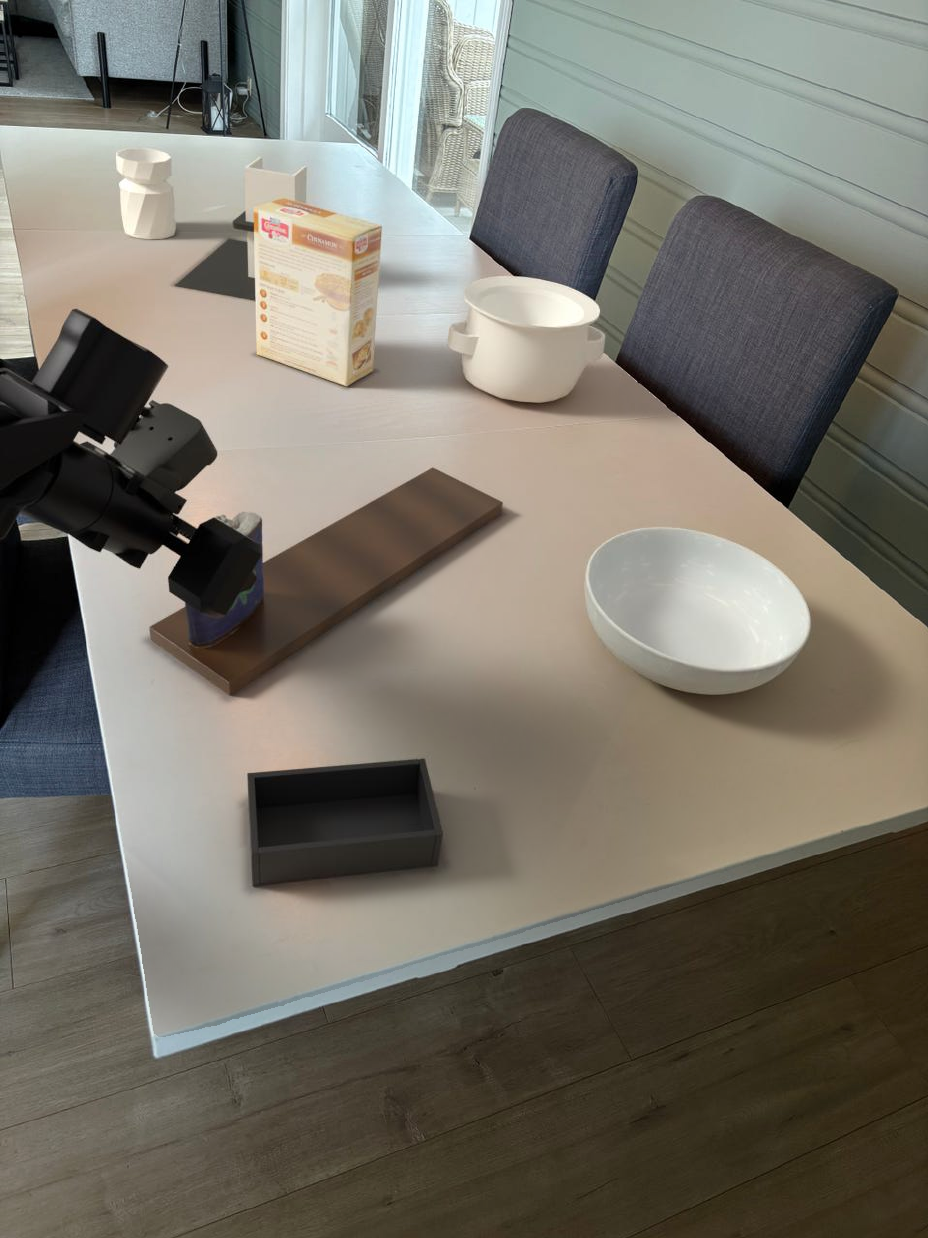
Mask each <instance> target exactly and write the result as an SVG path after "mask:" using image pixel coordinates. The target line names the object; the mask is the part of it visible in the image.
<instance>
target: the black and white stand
mask: <svg viewBox="0 0 928 1238" xmlns="http://www.w3.org/2000/svg"><path fill="white" fill-rule="evenodd" d="M243 168H244V172H243V174H244V204H245V205H244V206H245V210H244V211H243V212H242V213H241V214H239V215H238V216H236V218H234V219H233V220H232V228H233V229H234V230H239V231H245V232H246V234H247V235H246V237H247V238H246V239H247V241H244V240H239V239H233V238H228V239H226V241H225V242H223V243H221V245H220V246H218V247H217V248H216V249H215V250H214V251H212V252H211V254H209V255H208V256H207V257H206V258H205V259H203V260H202V261H201V262H200V263H199V264H198V265H196V266H195V267H194V268H193V269H192V270H190V272H188V273H186V275H185V276H184V277H182V279H180V280H179V281H178V282H177V283H175V285H174V287H179V288H186V289H190V290H191V289H192V290H197V291H201V292H202V291H203V292H207V293H208V292H209V293H213V294H220V295H224V296H230V297H236V298H241V299H247V300H251V301H256V296H255V250H254V207H257V206H260V205H263V204H267V203H270V202H272V201H275V200H279V199H283V198H288V199H291V200H294V201H297V202H301V203H304V204H307V178H308V177H307V176H308V174H307V173H308V172H307V170H308V169H307V168H308V167H307V165H302V166H301V167H300V169H298V170H297V171H295V172H294V173H293V174H289V173H285V172H284V173H283V172H279V171H273V170H267V169H263V156H258V157H257V158H256V159H254V160H253V161H251V162H250V163H248V164H247V165H245V166H244V167H243Z"/></svg>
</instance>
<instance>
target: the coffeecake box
mask: <svg viewBox="0 0 928 1238" xmlns="http://www.w3.org/2000/svg"><path fill="white" fill-rule="evenodd" d="M382 230H383V225H381V224H377V223H373V222H371V221H368V220H367V221H366V220H363V219H359V218H356V217H353V216H349V215H346V214H342V213H338V212H336V211H331V210H329V209H325V208H321V207H318V206H315V205H312V204H308V203H306V204H304V203H301V202H297V201H294V200H291V199H288V198H283V199H279V200H275V201H272V202H270V203H267V204H263V205H260V206H257V207H254V250H255V296H256V300H255V337H256V338H255V341H256V342H255V343H256V344H255V345H256V355H257V356H260V357H263V358H266V359H269V360H272V361H274V362H277V363H279V364H280V363H281V364H283V365H286V366H289V367H291V368H294V369H297V370H300V371H303V372H305V373H308V374H311V375H313V376H315V377H319V378H321V379H324V380H327V381H331V382H333V383H336V384H338V385H340V386H344V387H348V386H350V385H352V384H353V383H355V382H356V381H359V380H360V379H361V378H364V377H366V376H367V375H369V374H370V373H372V372H373V371H374V362H375V361H374V359H375V345H376V328H377V315H378V314H377V312H378V299H379V298H378V297H379V281H380V280H379V279H380V265H381V252H382V251H381V249H382V248H381V247H382V232H383V231H382Z"/></svg>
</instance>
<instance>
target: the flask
mask: <svg viewBox="0 0 928 1238" xmlns="http://www.w3.org/2000/svg"><path fill="white" fill-rule="evenodd" d="M214 518H216V519H218V520H220V521H222V522H223V523H225V524H227V525H229V526H230V527H232V528H234V529H235V530H237V531H239V532H240V533H242V534H244V535H245V536H247V537H249V538H250V539H252V540H254V541H255V542H257V543H259V544H260V545H261V549H262V556H261V558H260V559H259V561H258V563H257V564H256V566H255V568H254V569H253V572H254V574H255V575H256V576H257V580H256V582H255V583H254V585H253V587H252V588H251V589H249V590H246V591H244V592H241V593H239V595H238V596H237V598H236V600H235V601H234V603H233V605H232V606H231V608H230V610H229V611H228V613H227V615H226V616H224V617H221V618H218V619H216V618H213V617H210V616H208V615H205V614H202V613H200V612H199V611H197V610H196V609H194V608H193V607H191V606H190V605H188V604H187V603H185V602H184V607H185V608H186V614H187V619H188V632H189V641H190V642H189V644H191V645H193V646H194V647H196V648H202V649H204V648H206V647H211V646H212V645H215V644H217V643H219V642H220V641H222V640H223V639H225V638H226V637H228V636H229V635H230V634H233V632H235V631H236V630H237V629H238V628H240V627H241V626H242V624H243V623H244V622H245V621H247V620H248V618H250V617H251V616H252V614H253V613H254V612H256V610H257V609H258V608H259V607H260V606H261V604H262V602H263V598H264V578H263V563H264V561H263V559H264V558H263V557H264V555H263V553H264V551H263V550H264V549H263V547H264V546H263V518H262V517H261V516H260V515H259V514H257V513H256V512H252V511H241V512H239V513H238V514H236V515H235V516H234V517H233V518H232V519H230V518H228V517H227V515H226V514H221V515H216V516H215V517H214Z"/></svg>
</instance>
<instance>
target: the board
mask: <svg viewBox="0 0 928 1238" xmlns="http://www.w3.org/2000/svg"><path fill="white" fill-rule="evenodd" d="M503 503H504V502H503V501H502V500H500V499H498V498H495V497H493V496H491V495H489V494H487V493H486V492H484V491H482V490H480V489H477V488H475V487H473V486H472V485H469V484H467V483H465V482H463V481H462V480H459V479H457V478H455V477H453V476H452V475H449V474H447V473H446V472H444V471H441V470H439V469H438V468H435V467H434V466H433V467H430V468H428V469H427V470H425V471H423V472H421V473H419V474H418V475H416V476H415V477H413V478H411V479H409V480H407V481H405V482H404V483H402V484H401V485H398V486H397V487H395V488H393V489H391V490H390V491H388V492H386V493H385V494H382V495H381V496H379V497H377V498H375V499H374V500H372V501H370V502H368V503H366V504H365V505H363V506H362V507H360V508H358V509H356V510H354V511H352V512H351V513H349V514H347V515H345V516H344V517H342V518H340V519H338V520H337V521H335V522H333V523H331V524H330V525H327V526H326V527H324V528H322V529H320V530H319V531H317V532H315V533H314V534H312V535H310V536H308V537H306V538H304V539H303V540H301V541H299V542H297V543H296V544H293V545H292V546H290V547H289V548H287V549H285V550H284V551H281V552H280V553H279V554H276V555H274V556H273V557H271V558H268V559H267V560H266V561H263V578H264V598H263V602H262V604H261V606H260V607H259V608H258V609H257V610H256V612H254V613H253V614H252V616H251V617H250V618H248V620H247V621H245V622H244V623H243V624H242V626H241V627H240V628H238V629H237V630H236V631H235V632H233V634H230V635H229V636H228V637H226V638H225V639H223V640H222V641H220V642H219V643H217V644H215V645H212V646H211V647H206V648H204V649H202V648H196V647H194V646H193V645H191V644H189V642H190V641H189V632H188V619H187V614H186V608H185V606H184V607H182V608H180V609H178V610H176V611H174V612H172V613H171V614H169V615H168V616H166V617H165V618H163V619H161V620H159V621H157V622H155V623H154V624H152V625H150V626H149V627H148V631H149V636H150V641H152V642H153V643H155V644H156V645H157V646H159V647H160V648H161V649H163V650H165V652H167V653H169V654H170V655H172V657H174V658H176V659H177V660H179V661H180V662H182V663H183V664H184V665H186V666H187V667H189V668H190V669H192V670H193V671H194V672H196V674H199V675H200V676H201V677H203V678H204V679H206V680H207V681H208V682H210V683H211V684H213V685H214V686H215V687H217V688H218V689H220V690H221V691H223V692H224V693H225V694H227V695H229V696H232V695H233V694H235V693H236V692H238V691H239V690H240V689H242V688H244V687H245V686H247V684H250V683H251V682H252V681H254V680H256V679H257V678H258V677H260V676H261V675H263V674H264V673H266V672H267V671H268V670H270V669H272V668H273V667H275V666H277V665H278V664H279V663H281V662H282V661H283V660H285V659H287V658H288V657H289V656H291V655H293V654H294V653H295V652H297V651H298V650H300V649H301V648H303V647H305V646H306V645H307V644H309V643H310V642H312V641H314V639H315V640H316V638H318V637H319V636H321V635H322V634H324V633H326V632H327V631H328V630H330V629H331V628H333V627H334V626H336V625H337V624H338V623H340V622H342V621H344V619H347V617H349V616H350V615H352V614H353V613H355V612H357V611H358V610H360V609H361V608H363V607H364V606H365V605H367V604H368V603H370V602H371V601H373V600H374V599H376V598H377V597H379V596H380V595H382V594H384V593H385V592H386V591H387V590H389V589H391V588H392V587H394V586H395V585H397V584H398V583H400V582H402V580H404V579H406V578H407V577H408V576H410V575H411V574H413V573H414V572H416V571H417V570H419V569H421V568H422V567H424V566H425V565H427V564H428V563H429V562H431V561H433V560H434V559H436V558H437V557H439V556H440V555H441V554H443V553H445V551H447V550H450V549H451V548H452V547H453V546H454V545H456V544H457V543H459V542H460V541H462V540H463V539H465V538H467V537H468V536H469V535H471V534H473V533H474V532H475V531H477V530H479V529H481V527H483V526H485V525H486V524H487V523H489V522H490V521H492V520H493V519H495V518H496V517H498V516H500V515H501V514H502V509H503Z"/></svg>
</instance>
